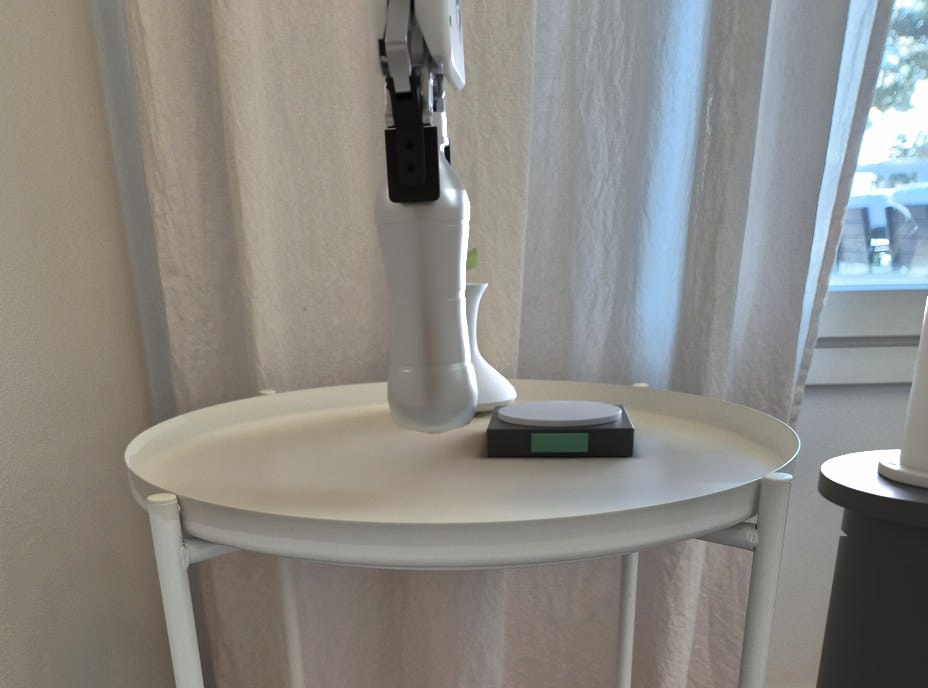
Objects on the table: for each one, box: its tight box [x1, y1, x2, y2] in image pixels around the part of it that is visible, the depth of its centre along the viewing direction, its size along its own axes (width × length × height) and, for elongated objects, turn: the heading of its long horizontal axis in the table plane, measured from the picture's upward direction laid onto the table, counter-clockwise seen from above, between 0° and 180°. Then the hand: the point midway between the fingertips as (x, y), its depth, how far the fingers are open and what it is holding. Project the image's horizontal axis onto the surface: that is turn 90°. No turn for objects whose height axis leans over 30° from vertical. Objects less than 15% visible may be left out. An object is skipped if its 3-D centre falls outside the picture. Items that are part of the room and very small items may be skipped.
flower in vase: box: [464, 247, 518, 413], centre depth 98 cm, size 13×11×25 cm
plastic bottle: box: [373, 112, 478, 435], centre depth 61 cm, size 6×7×20 cm
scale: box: [486, 399, 635, 458], centre depth 85 cm, size 13×14×3 cm
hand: (422, 201), depth 59 cm, fingers closed on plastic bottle, 6 cm apart
